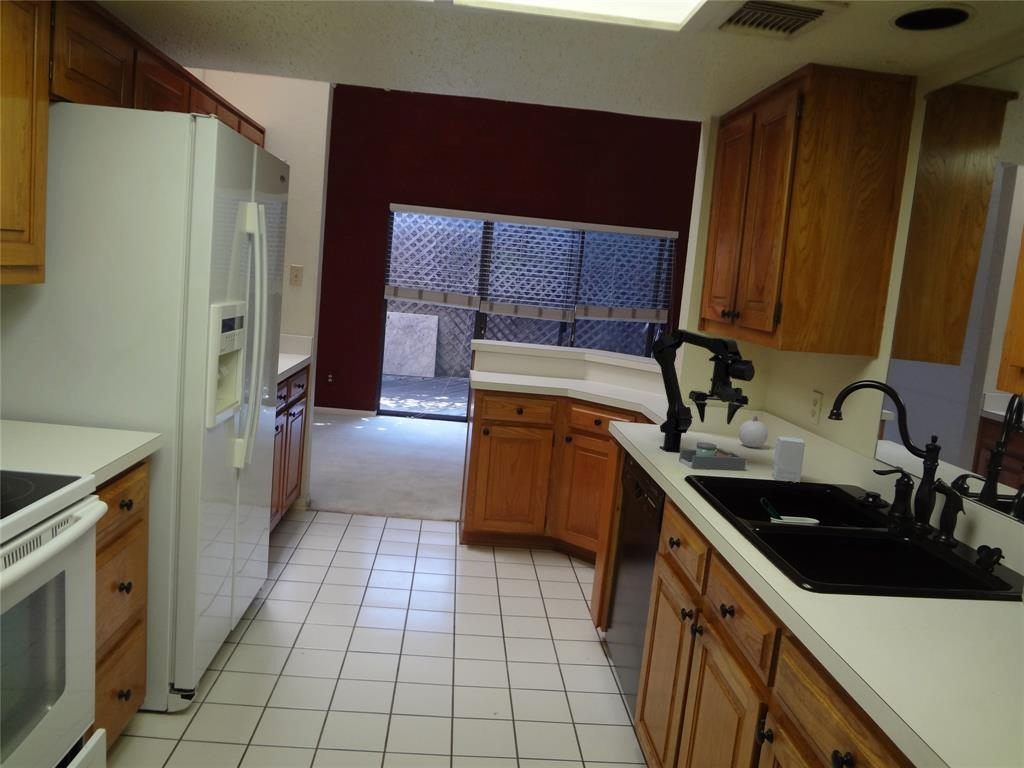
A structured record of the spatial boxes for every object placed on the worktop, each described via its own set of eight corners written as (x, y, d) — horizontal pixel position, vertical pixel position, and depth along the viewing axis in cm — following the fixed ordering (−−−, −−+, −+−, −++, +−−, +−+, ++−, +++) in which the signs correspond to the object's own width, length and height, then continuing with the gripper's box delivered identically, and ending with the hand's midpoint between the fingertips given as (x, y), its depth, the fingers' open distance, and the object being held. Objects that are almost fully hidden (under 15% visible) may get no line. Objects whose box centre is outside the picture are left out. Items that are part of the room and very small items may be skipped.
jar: (691, 463, 247) (693, 441, 246) (708, 463, 248) (711, 442, 247) (699, 467, 241) (702, 446, 240) (717, 468, 242) (720, 446, 241)
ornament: (756, 451, 278) (760, 418, 277) (732, 445, 286) (736, 413, 284) (771, 449, 285) (775, 417, 284) (747, 443, 293) (751, 412, 291)
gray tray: (678, 461, 248) (680, 449, 247) (729, 463, 252) (730, 451, 251) (692, 468, 238) (694, 456, 238) (744, 470, 242) (746, 458, 242)
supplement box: (800, 483, 231) (805, 442, 230) (774, 480, 233) (780, 439, 231) (796, 477, 238) (801, 438, 237) (771, 474, 240) (776, 435, 238)
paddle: (714, 462, 249) (716, 447, 249) (719, 463, 250) (720, 448, 249) (725, 468, 242) (727, 453, 241) (730, 468, 242) (732, 453, 242)
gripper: (705, 378, 240) (698, 426, 242) (759, 382, 243) (753, 430, 245) (691, 373, 251) (685, 419, 253) (743, 377, 254) (737, 423, 256)
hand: (715, 423), depth 251 cm, fingers open, 9 cm apart
